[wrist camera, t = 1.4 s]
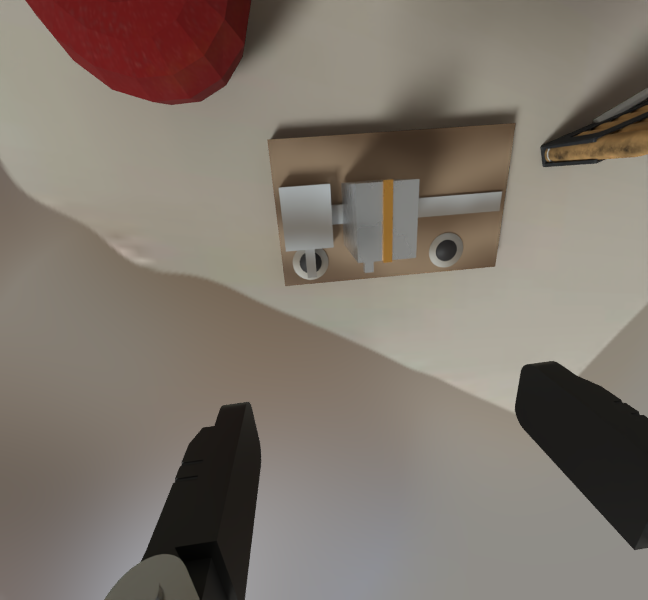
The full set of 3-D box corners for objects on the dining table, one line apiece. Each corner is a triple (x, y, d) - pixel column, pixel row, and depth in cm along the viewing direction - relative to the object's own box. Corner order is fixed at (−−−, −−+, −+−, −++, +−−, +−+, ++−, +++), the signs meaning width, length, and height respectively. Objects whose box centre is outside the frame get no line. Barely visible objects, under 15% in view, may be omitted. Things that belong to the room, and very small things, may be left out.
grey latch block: (341, 181, 25) (356, 182, 19) (389, 177, 25) (420, 177, 19) (345, 271, 28) (359, 298, 21) (388, 267, 28) (415, 292, 22)
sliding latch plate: (269, 141, 25) (265, 137, 22) (503, 126, 26) (528, 119, 23) (285, 281, 30) (284, 291, 27) (486, 262, 31) (505, 270, 28)
